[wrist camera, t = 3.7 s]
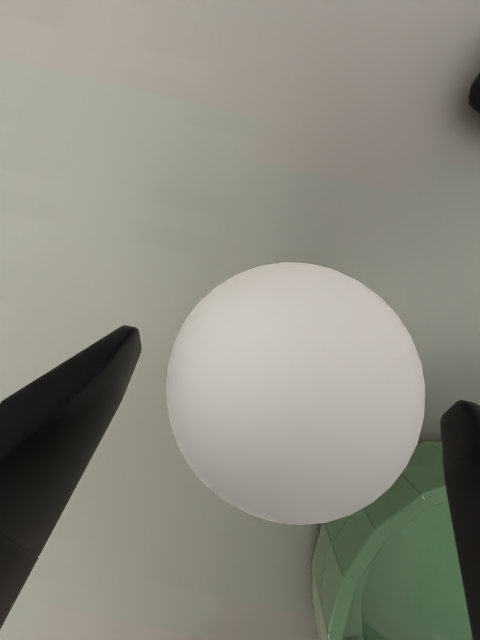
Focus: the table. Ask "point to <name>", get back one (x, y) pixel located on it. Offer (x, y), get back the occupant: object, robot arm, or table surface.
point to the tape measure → (475, 94)
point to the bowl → (393, 563)
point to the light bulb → (295, 393)
